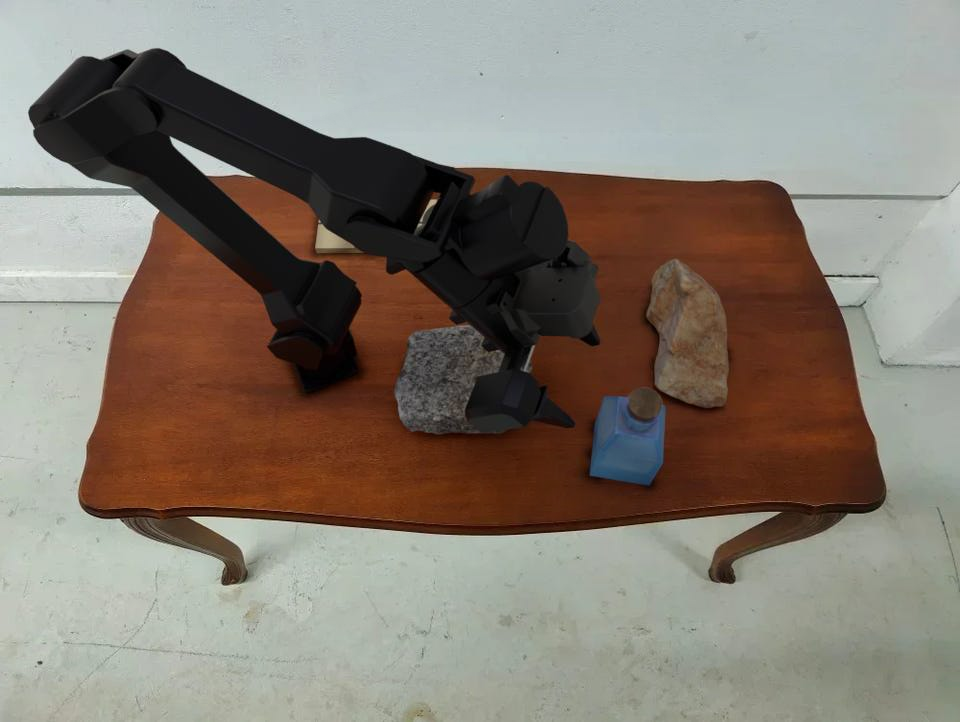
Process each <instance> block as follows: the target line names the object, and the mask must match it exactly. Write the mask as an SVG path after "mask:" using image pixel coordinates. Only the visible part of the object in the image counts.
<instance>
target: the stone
mask: <svg viewBox="0 0 960 722" xmlns="http://www.w3.org/2000/svg"><path fill="white" fill-rule="evenodd" d="M650 282H651V289H652V290H651V294H650V303H649V306H648V307H647V310H646V319H647V321H648V322H649V323H650V324H651V325H652V326H654V328H655V330H656V331H657V334H658V337H659V339H658V341H659V344H658V350H657V355H656V357H655V361H654V368H653V369H654V370H653V371H654V386H655V387H656V389H658V390H659V391H660V392H662V393H664V394H666V395H668V396H670V397H673V398H675V399H678V400H680V401H682V402H684V403H686V404H688V405H694V406H697V407H699V408H700V407H701V408H703V409H712V408H714V407H724V406H725V405H726V403H727V400H728V397H727V396H728V394H729V387H728V383H727V381H728V379H727V378H728V376H729V371H730V367H729V353H728V352H729V351H728V327H727V326H728V325H727V316H726V315H727V314H726V311H725V308H724V307H723V303H722V300H721V297H720V295H719V293H718V292H717V291H716V289H714V288H713V287H712V286H711V285H710V284H708V282H707V281H706V280H705V279H704V278H703V277H702V276H701V275H699V274H698V273H697V272H694V271H693V270H692V269H691V268H690V267H689V266H688V265H687V264H686V263H684V262H682V261H681V260H679V259H677V258H675V259H674V258H673V259H670V260H668V261H666V262H665V264H662V265H660V266H659V267H658V269H656V270H655V272H654V273H653V276H652V277H651V280H650Z"/></svg>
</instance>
